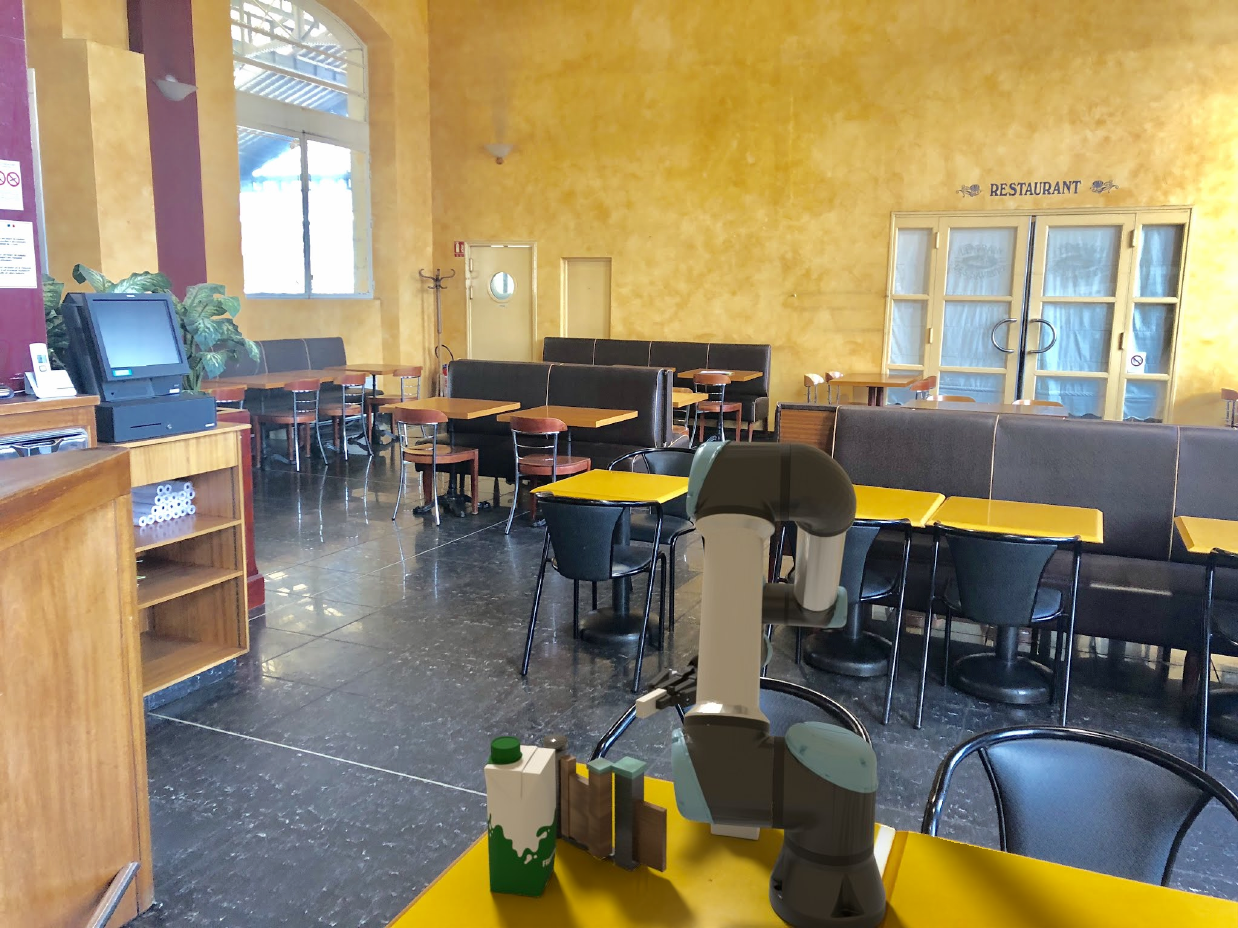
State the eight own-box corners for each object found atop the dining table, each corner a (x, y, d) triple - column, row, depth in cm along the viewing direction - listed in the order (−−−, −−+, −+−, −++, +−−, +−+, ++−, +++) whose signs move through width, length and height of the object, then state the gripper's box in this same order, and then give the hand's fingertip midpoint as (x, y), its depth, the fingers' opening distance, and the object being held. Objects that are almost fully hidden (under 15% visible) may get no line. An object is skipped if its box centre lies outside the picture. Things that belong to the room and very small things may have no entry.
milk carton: (502, 858, 135) (499, 727, 132) (562, 865, 134) (561, 732, 131) (481, 894, 127) (477, 754, 124) (545, 902, 125) (543, 761, 122)
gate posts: (671, 871, 132) (672, 770, 130) (657, 883, 129) (657, 781, 127) (554, 824, 145) (553, 732, 142) (539, 834, 142) (538, 740, 140)
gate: (614, 852, 135) (614, 763, 133) (599, 860, 133) (599, 769, 131) (572, 828, 141) (572, 742, 139) (558, 834, 139) (557, 748, 137)
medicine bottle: (762, 816, 147) (764, 744, 145) (758, 840, 140) (759, 765, 138) (717, 811, 149) (718, 739, 147) (710, 834, 142) (711, 759, 140)
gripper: (748, 697, 162) (674, 742, 143) (684, 682, 170) (606, 722, 151) (749, 655, 161) (675, 695, 142) (684, 641, 169) (606, 677, 150)
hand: (639, 709), depth 147 cm, fingers closed
